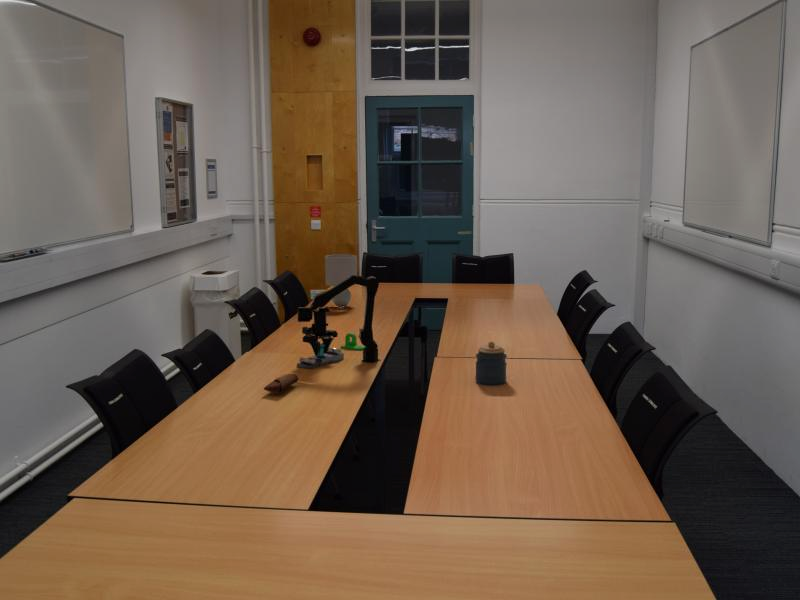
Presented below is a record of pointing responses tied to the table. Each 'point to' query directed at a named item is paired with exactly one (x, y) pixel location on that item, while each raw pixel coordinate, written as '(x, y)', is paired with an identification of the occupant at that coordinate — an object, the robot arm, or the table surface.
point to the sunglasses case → (281, 383)
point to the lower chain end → (311, 363)
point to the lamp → (340, 275)
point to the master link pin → (321, 351)
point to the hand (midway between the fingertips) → (320, 354)
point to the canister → (491, 365)
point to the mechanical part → (351, 343)
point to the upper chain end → (330, 355)
